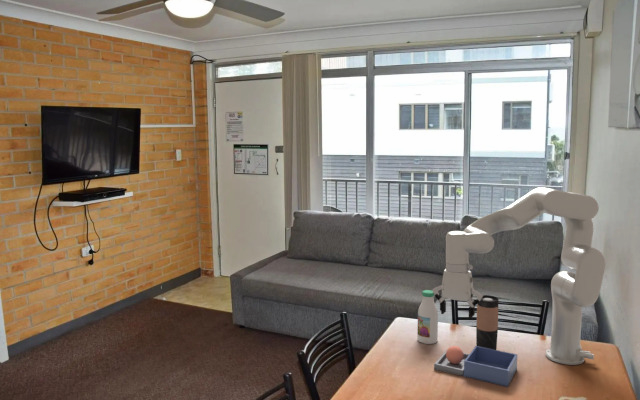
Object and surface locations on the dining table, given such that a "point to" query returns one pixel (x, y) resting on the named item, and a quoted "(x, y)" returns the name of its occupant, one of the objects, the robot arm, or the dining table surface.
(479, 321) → the travel mug
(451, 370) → the tray
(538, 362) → the dining table surface
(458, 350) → the ball
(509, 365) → the blue storage bin
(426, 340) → the milk bottle
